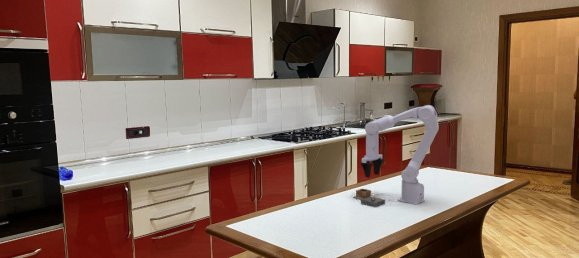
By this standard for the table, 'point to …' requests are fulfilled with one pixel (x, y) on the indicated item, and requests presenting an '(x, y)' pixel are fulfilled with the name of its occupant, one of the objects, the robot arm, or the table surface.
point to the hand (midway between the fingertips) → (372, 175)
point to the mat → (357, 198)
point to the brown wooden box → (363, 193)
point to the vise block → (372, 201)
